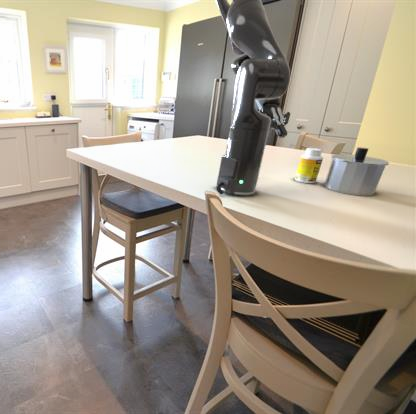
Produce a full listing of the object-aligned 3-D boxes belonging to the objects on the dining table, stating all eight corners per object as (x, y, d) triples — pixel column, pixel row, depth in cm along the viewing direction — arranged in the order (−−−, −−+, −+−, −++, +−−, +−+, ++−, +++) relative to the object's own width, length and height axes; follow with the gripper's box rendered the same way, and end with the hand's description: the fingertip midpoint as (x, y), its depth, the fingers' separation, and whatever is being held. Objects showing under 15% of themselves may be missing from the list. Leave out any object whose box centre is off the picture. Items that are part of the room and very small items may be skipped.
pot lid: (365, 169, 73) (371, 153, 72) (320, 158, 84) (324, 144, 83) (399, 166, 76) (405, 151, 75) (351, 157, 87) (355, 143, 86)
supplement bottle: (311, 185, 86) (321, 151, 82) (291, 180, 90) (300, 148, 87) (318, 182, 89) (328, 149, 85) (298, 177, 93) (307, 146, 90)
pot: (354, 197, 77) (365, 166, 73) (315, 184, 87) (323, 157, 84) (384, 194, 80) (396, 164, 76) (343, 182, 90) (352, 155, 86)
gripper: (271, 104, 106) (290, 142, 100) (241, 104, 103) (259, 143, 96) (286, 89, 99) (308, 128, 93) (255, 88, 96) (275, 129, 90)
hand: (283, 136), depth 95 cm, fingers closed
